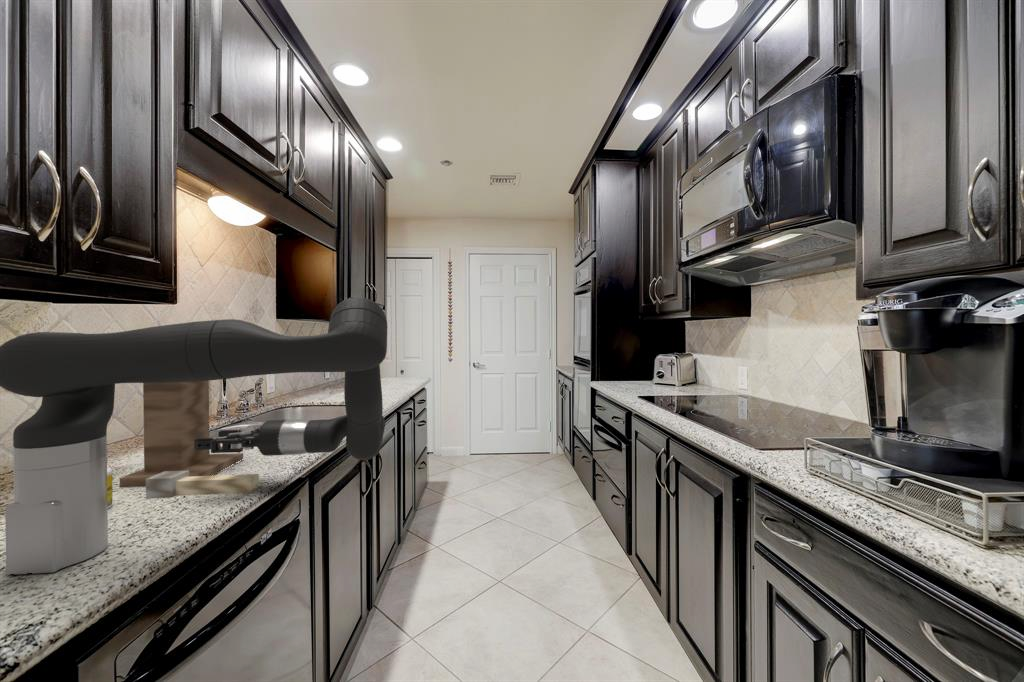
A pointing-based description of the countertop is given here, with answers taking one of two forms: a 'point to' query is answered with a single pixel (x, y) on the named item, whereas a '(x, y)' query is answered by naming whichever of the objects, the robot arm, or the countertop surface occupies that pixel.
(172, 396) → the stand
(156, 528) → the countertop surface
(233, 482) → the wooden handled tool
